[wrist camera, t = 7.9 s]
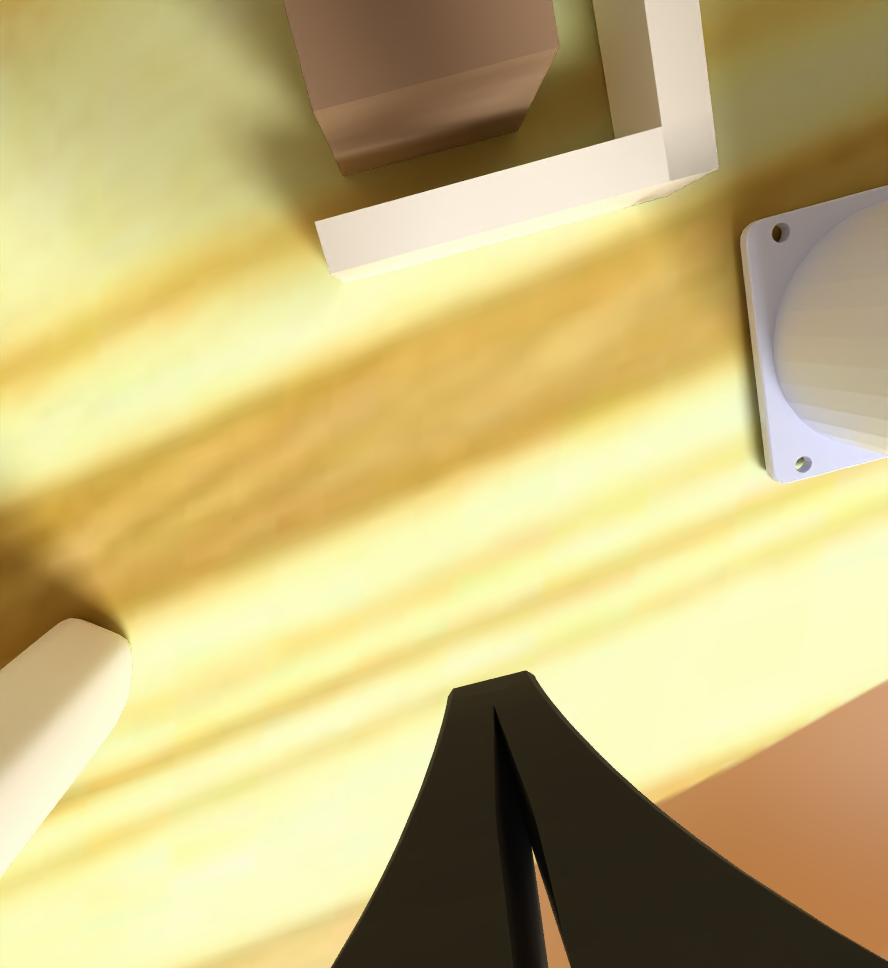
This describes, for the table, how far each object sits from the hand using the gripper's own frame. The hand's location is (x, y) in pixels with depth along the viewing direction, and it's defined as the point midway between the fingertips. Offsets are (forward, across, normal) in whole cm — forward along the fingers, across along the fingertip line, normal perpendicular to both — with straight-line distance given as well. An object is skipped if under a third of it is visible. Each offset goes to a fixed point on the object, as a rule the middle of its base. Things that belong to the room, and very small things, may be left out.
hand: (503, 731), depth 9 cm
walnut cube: (+10, -2, -13) cm, 17 cm away
